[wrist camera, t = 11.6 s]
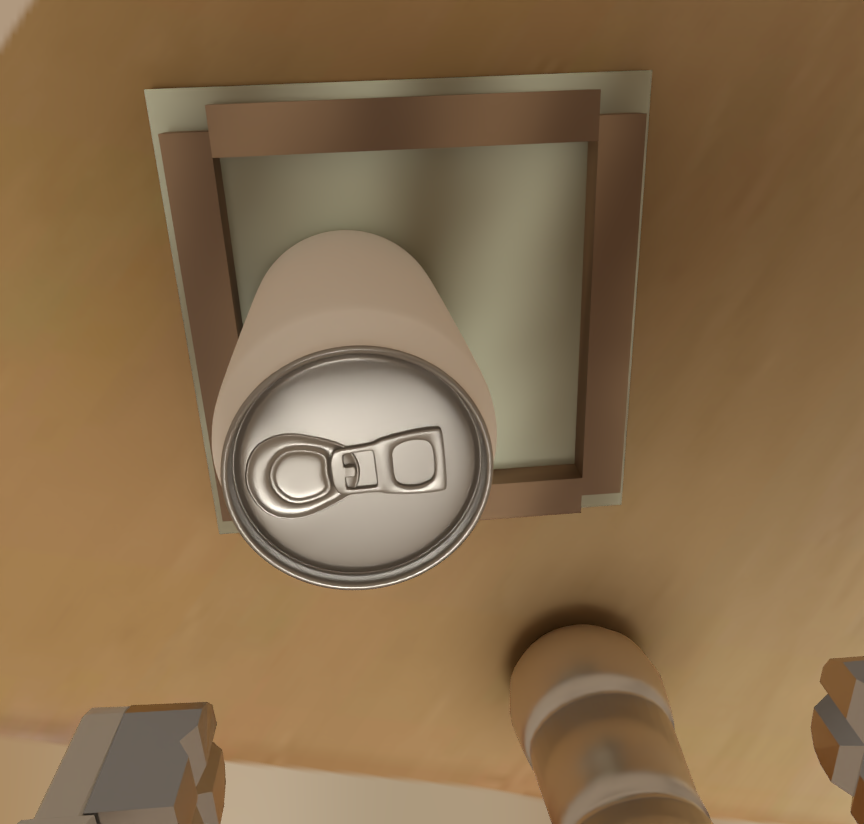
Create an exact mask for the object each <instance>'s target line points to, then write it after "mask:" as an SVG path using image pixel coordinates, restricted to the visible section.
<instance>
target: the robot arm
mask: <svg viewBox="0 0 864 824" xmlns="http://www.w3.org/2000/svg"><path fill="white" fill-rule="evenodd" d="M820 683H821V684H822V686H823V687H824V689H825V690H826V691H827V693H828V694H827V695H826V696H825V697H824V698H823V699H822V700H821V701H820V702H819V703H818V704H817V705H816V706H815V707H814V710H813V716H812V722H811V732H812V739H813V745H814V749H815V752H816V754H817V757H818V759H819V762H820V764H821V766H822V768H823V770H824V771H825V773H826V774H827V776H828V778H829V779H830V781H831V782H832V783H833V784H835V785H836V786H838V787H839V788H841V789H842V790H844V791H845V792H847V793H848V794H850V795H851V796H852V804H851V812H850V813H851V814H852V816H853V817H854V819H855V820H856V822H857V823H858V824H864V656H858V657H845V658H833V659H829V661H828V662H827V663H826V664H825V665H824V667H823V670H822V674H821V678H820ZM216 726H217V722H216V718H215V714H214V710H213V706H212V704H210V703H208V702H196V703H173V704H150V705H131V706H128V707H101V708H91V709H90V710H89V711H88V712H87V713H86V714H85V715H84V716H83V717H82V719H81V721H80V723H79V725H78V727H77V729H76V732H75V734H74V736H73V738H72V740H71V742H70V744H69V746H68V748H67V751H66V752H65V755H64V757H63V759H62V761H61V763H60V765H59V767H58V769H57V771H56V774H55V775H54V778H53V780H52V782H51V784H50V786H49V788H48V790H47V793H46V794H45V797H44V798H43V800H42V803H41V805H40V807H39V809H38V811H37V813H36V815H35V817H34V819H30V820H21V821H20V822H18V823H17V824H220V823H221V818H222V813H223V808H224V798H225V785H226V779H225V763H224V758H223V752H222V749H221V748H219V747H218V746H217V745H216V744H215V743H213V742H212V741H213V737H214V733H215V730H216Z"/></svg>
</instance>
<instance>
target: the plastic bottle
mask: <svg viewBox="0 0 864 824" xmlns="http://www.w3.org/2000/svg"><path fill="white" fill-rule="evenodd" d="M510 716H511V721H512V725H513V727H514V730H515V733H516V735H517V738H518V740H519V743H520V745H521V748H522V750H523V752H524V754H525V756H526V758H527V760H528V762H529V763H530V765H531V767H532V769H533V771H534V773H535V776H536V779H537V782H538V785H539V788H540V791H541V794H542V796H543V799H544V802H545V805H546V808H547V811H548V814H549V817H550V820H551V822H552V824H713V823H712V821H711V819H710V817H709V814H708V812H707V810H706V808H705V806H704V804H703V802H702V800H701V799H700V797H699V795H698V793H697V791H696V788H695V786H694V783H693V780H692V777H691V775H690V772H689V769H688V766H687V764H686V761H685V758H684V755H683V752H682V750H681V747H680V744H679V741H678V739H677V736H676V733H675V730H674V721H673V716H672V711H671V707H670V704H669V700H668V697H667V694H666V691H665V687H664V684H663V682H662V679H661V676H660V674H659V672H658V671H657V670H656V668H655V667H654V665H653V664H652V663H651V661H650V660H649V659H648V658H647V656H646V655H645V654H644V652H643V651H642V650H641V649H640V647H639V646H638V645H637V644H636V643H634V642H633V641H632V640H631V639H630V638H628V637H626V636H624V635H623V634H621V633H619V632H616V631H613V630H609V629H606V628H603V627H600V626H595V625H588V624H580V625H570V626H565V627H561V628H558V629H555V630H552V631H551V632H549V633H547V634H545V635H543V636H541V637H540V638H539V639H537V640H536V641H535V642H533V643H532V644H531V646H530V647H529V648H528V649H527V650H526V651H525V652H524V654H523V655H522V656H521V658H520V659H519V661H518V663H517V664H516V666H515V668H514V670H513V673H512V676H511V680H510Z"/></svg>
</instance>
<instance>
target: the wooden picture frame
mask: <svg viewBox="0 0 864 824" xmlns="http://www.w3.org/2000/svg"><path fill="white" fill-rule="evenodd" d="M651 82H652V70H638V71H612V72H586V73H560V74H534V75H508V76H482V77H456V78H429V79H403V80H377V81H351V82H325V83H299V84H273V85H246V86H220V87H194V88H168V89H144V93H145V99H146V104H147V110H148V116H149V122H150V128H151V134H152V140H153V146H154V152H155V157H156V163H157V169H158V175H159V181H160V187H161V193H162V199H163V205H164V210H165V216H166V222H167V228H168V234H169V240H170V246H171V252H172V257H173V263H174V269H175V275H176V281H177V287H178V293H179V299H180V305H181V310H182V316H183V322H184V328H185V334H186V340H187V346H188V352H189V358H190V363H191V369H192V375H193V381H194V387H195V393H196V399H197V405H198V411H199V416H200V422H201V428H202V434H203V440H204V446H205V452H206V458H207V463H208V469H209V475H210V481H211V487H212V493H213V499H214V505H215V511H216V516H217V522H218V528H219V534H229V533H239V531H238V530H237V528H236V526H235V525H234V523H233V521H232V519H231V517H230V515H229V512H228V510H227V507H226V504H225V500H224V497H223V492H222V486H221V484H220V481H219V479H218V476H217V473H216V469H215V465H214V460H213V453H212V423H213V416H214V410H215V406H216V402H217V398H218V395H219V391H220V388H221V385H222V382H223V379H224V377H225V374H226V371H227V368H228V365H229V363H230V360H231V357H232V355H233V352H234V349H235V347H236V344H237V341H238V339H239V336H240V333H241V331H242V328H243V325H244V323H245V320H246V318H247V315H248V312H249V310H250V307H251V305H252V302H253V300H254V297H255V295H256V292H257V290H258V288H259V286H260V284H261V282H262V280H263V278H264V276H265V274H266V273H267V271H268V270H269V268H270V267H271V266H272V265H273V263H274V262H275V261H276V260H277V259H278V258H279V257H280V256H281V255H282V254H283V253H284V252H285V251H287V250H288V249H289V248H291V247H292V246H294V245H295V244H297V243H298V242H300V241H302V240H304V239H306V238H309V237H311V236H314V235H317V234H320V233H324V232H329V231H336V230H355V231H363V232H367V233H371V234H375V235H378V236H380V237H383V238H385V239H387V240H389V241H391V242H393V243H395V244H397V245H398V246H400V247H401V248H402V249H404V250H405V251H406V252H408V253H409V254H410V255H411V256H412V257H413V258H414V259H415V260H416V261H417V262H418V263H419V264H420V266H421V267H422V268H423V269H424V271H425V272H426V274H427V275H428V277H429V278H430V280H431V282H432V283H433V285H434V287H435V288H436V290H437V292H438V294H439V295H440V297H441V299H442V301H443V302H444V304H445V306H446V308H447V310H448V311H449V313H450V315H451V317H452V319H453V320H454V322H455V324H456V326H457V328H458V329H459V331H460V333H461V335H462V337H463V339H464V340H465V342H466V344H467V346H468V348H469V350H470V351H471V353H472V355H473V357H474V359H475V361H476V363H477V365H478V367H479V369H480V371H481V373H482V375H483V377H484V379H485V382H486V384H487V386H488V389H489V392H490V395H491V398H492V402H493V406H494V411H495V416H496V425H497V444H496V453H495V458H494V466H493V480H492V486H491V490H490V494H489V498H488V501H487V504H486V506H485V509H484V511H483V513H482V515H481V517H480V519H479V520H488V519H502V518H515V517H529V516H542V515H556V514H569V513H581V508H582V507H596V506H609V505H621V504H622V489H623V475H624V461H625V447H626V433H627V419H628V405H629V391H630V377H631V363H632V349H633V335H634V321H635V307H636V293H637V279H638V264H639V250H640V236H641V222H642V208H643V194H644V180H645V166H646V152H647V138H648V124H649V110H650V96H651Z"/></svg>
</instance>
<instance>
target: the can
mask: <svg viewBox="0 0 864 824" xmlns="http://www.w3.org/2000/svg"><path fill="white" fill-rule="evenodd" d="M496 444H497V425H496V416H495V411H494V406H493V402H492V398H491V395H490V392H489V389H488V386H487V384H486V382H485V379H484V377H483V375H482V373H481V371H480V369H479V367H478V365H477V363H476V361H475V359H474V357H473V355H472V353H471V351H470V350H469V348H468V346H467V344H466V342H465V340H464V339H463V337H462V335H461V333H460V331H459V329H458V328H457V326H456V324H455V322H454V320H453V319H452V317H451V315H450V313H449V311H448V310H447V308H446V306H445V304H444V302H443V301H442V299H441V297H440V295H439V294H438V292H437V290H436V288H435V287H434V285H433V283H432V282H431V280H430V278H429V277H428V275H427V274H426V272H425V271H424V269H423V268H422V267H421V266H420V264H419V263H418V262H417V261H416V260H415V259H414V258H413V257H412V256H411V255H410V254H409V253H408V252H406V251H405V250H404V249H402V248H401V247H400V246H398V245H397V244H395V243H393V242H391V241H389V240H387V239H385V238H383V237H380V236H378V235H375V234H371V233H367V232H363V231H355V230H336V231H329V232H324V233H320V234H317V235H314V236H311V237H309V238H306V239H304V240H302V241H300V242H298V243H297V244H295V245H294V246H292V247H291V248H289V249H288V250H287V251H285V252H284V253H283V254H282V255H281V256H280V257H279V258H278V259H277V260H276V261H275V262H274V263H273V265H272V266H271V267H270V268H269V270H268V271H267V273H266V274H265V276H264V278H263V280H262V282H261V284H260V286H259V288H258V290H257V292H256V295H255V297H254V300H253V302H252V305H251V307H250V310H249V312H248V315H247V318H246V320H245V323H244V325H243V328H242V331H241V333H240V336H239V339H238V341H237V344H236V347H235V349H234V352H233V355H232V357H231V360H230V363H229V365H228V368H227V371H226V374H225V377H224V379H223V382H222V385H221V388H220V391H219V395H218V398H217V402H216V406H215V410H214V416H213V423H212V453H213V460H214V465H215V469H216V473H217V476H218V479H219V481H220V484H221V486H222V492H223V497H224V500H225V504H226V507H227V510H228V512H229V515H230V517H231V519H232V521H233V523H234V525H235V526H236V528H237V530H238V531H239V533H240V534H241V536H242V537H243V538H244V540H245V541H246V542H247V543H248V545H249V546H250V547H251V548H252V549H253V550H254V551H255V552H256V553H257V554H258V555H259V556H260V557H262V558H263V559H264V560H265V561H267V562H268V563H269V564H271V565H272V566H274V567H275V568H277V569H278V570H280V571H282V572H283V573H285V574H287V575H289V576H291V577H293V578H296V579H298V580H301V581H303V582H306V583H309V584H313V585H317V586H321V587H325V588H331V589H340V590H367V589H376V588H382V587H387V586H391V585H395V584H398V583H401V582H404V581H407V580H409V579H412V578H414V577H417V576H419V575H421V574H423V573H425V572H426V571H428V570H430V569H432V568H433V567H435V566H436V565H438V564H439V563H441V562H442V561H443V560H445V559H446V558H447V557H449V556H450V555H451V554H452V553H453V552H454V551H455V550H456V549H457V548H458V547H459V546H460V545H461V544H462V543H463V542H464V541H465V540H466V538H467V537H468V536H469V535H470V533H471V532H472V530H473V529H474V527H475V526H476V524H477V523H478V521H479V519H480V517H481V515H482V513H483V511H484V509H485V506H486V504H487V501H488V498H489V494H490V490H491V486H492V480H493V466H494V458H495V453H496Z"/></svg>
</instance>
